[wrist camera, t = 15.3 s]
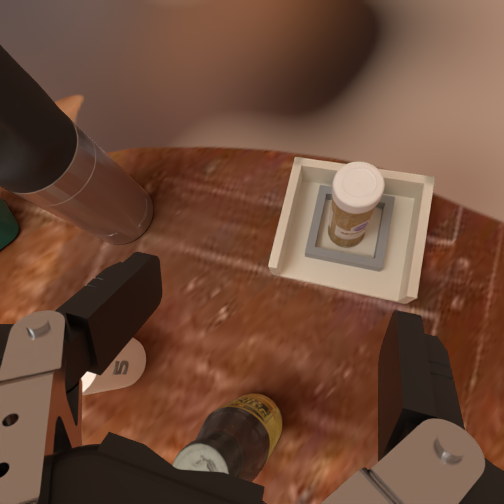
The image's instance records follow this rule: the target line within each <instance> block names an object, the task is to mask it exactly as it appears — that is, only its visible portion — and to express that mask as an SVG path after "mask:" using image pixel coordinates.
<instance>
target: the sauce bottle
mask: <svg viewBox="0 0 504 504" xmlns="http://www.w3.org/2000/svg"><path fill="white" fill-rule="evenodd" d="M282 420H283V419H282V415H281V412H280V410H279V408H278V406H277V405H276V404H275V402H274V401H273V400H272V399H270V398H269V397H266V396H264V395H262V394H257V393H251V394H246V395H243V396H241V397H239V398H237V399H236V400H234V401H232V402H230V403H228V404H226V405H224V406H223V407H221V408H218V409H217V410H215V411H214V412H212V413H211V414H210V415H209V416H208V417H207V418H206V420H205V421H204V423H203V426H202V428H201V430H200V432H199V434H198V436H197V438H196V440H195V441H192V442H191V443H190V444H188V445H187V446H186V447H185V448H183V449H182V450H181V451H180V452H179V454H178V455H177V457H176V459H175V461H174V463H173V465H172V466H174V467H175V468H177V469H182V470H196V471H212V472H224V473H227V474H230V475H232V476H235V477H238V478H241V479H244V480H247V481H249V482H252V481H253V480H254V479H255V478H256V477H257V475H258V474H259V472H260V471H261V470H262V468H263V467H264V465H265V464H266V462H267V460H268V458H269V456H270V454H271V453H272V451H273V449H274V448H275V446H276V444H277V442H278V440H279V438H280V435H281V432H282Z"/></svg>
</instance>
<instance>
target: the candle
mask: <svg viewBox="0 0 504 504" xmlns="http://www.w3.org/2000/svg"><path fill="white" fill-rule="evenodd" d="M145 366H146V354H145V350H144V348H143V346H142V345H141V343H140V342H139V341H138V340H136V339H135V338H132V339H131V340H130V341H129V342H128V344H127V345H126V346H125V347H124V348H123V350H122V351H121V352H120V353H119V354H118V356H117V357H116V358H115V359H114V360H113V362H112V363H111V364H110V365H109V366H108V368H107V369H106V370H105V371H104V372H103V374H102V375H101V376H100V375H97V374H94V373H91V372H86V373H85V374H84V376H83V377H82V378H81V379H82V384H83V387H82V395H87V394H92V393H97V392H103V391H108V390H113V389H119V388H124V387H128V386H130V385H132V384H134V383H135V382H136V381H137V380H138V379H139V378H140V377H141V375H142V374H143V372H144V369H145Z"/></svg>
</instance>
